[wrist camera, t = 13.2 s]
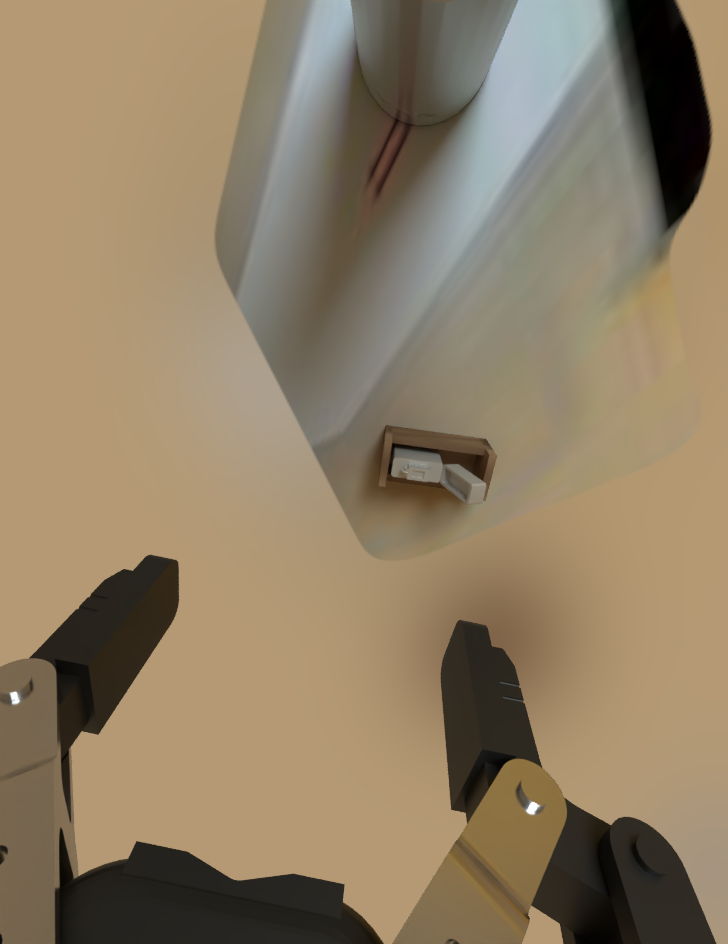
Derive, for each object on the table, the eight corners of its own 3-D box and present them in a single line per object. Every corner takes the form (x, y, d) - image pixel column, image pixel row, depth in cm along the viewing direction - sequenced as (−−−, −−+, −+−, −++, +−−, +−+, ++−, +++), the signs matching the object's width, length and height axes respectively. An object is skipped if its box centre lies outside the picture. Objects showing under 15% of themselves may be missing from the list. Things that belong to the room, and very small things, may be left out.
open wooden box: (385, 425, 40) (384, 440, 35) (486, 439, 39) (496, 456, 35) (379, 466, 41) (378, 486, 37) (476, 480, 41) (485, 500, 37)
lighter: (391, 458, 40) (390, 495, 33) (393, 441, 40) (393, 474, 32) (467, 468, 40) (483, 507, 33) (471, 451, 40) (488, 487, 32)
